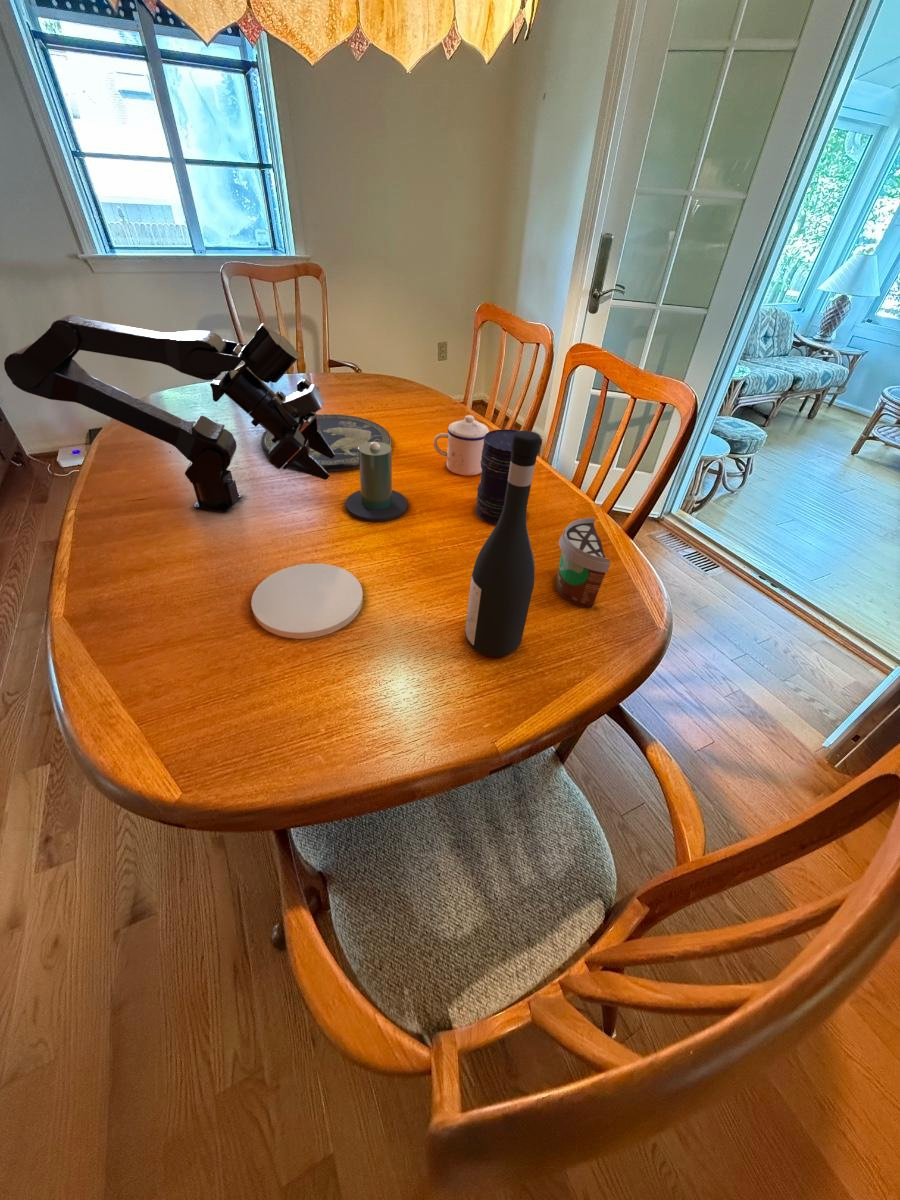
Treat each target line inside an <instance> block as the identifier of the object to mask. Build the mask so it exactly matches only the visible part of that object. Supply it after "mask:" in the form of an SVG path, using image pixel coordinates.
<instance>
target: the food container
mask: <svg viewBox="0 0 900 1200" xmlns="http://www.w3.org/2000/svg"><path fill="white" fill-rule="evenodd" d="M595 522H596V517H589V518H588V517H585V518H578V519H575V520H573V521H572V522H570V523H569V524H568V525H567V526H566V527H565V528H564V530H563V532H562V533H561V535H560V538H559V540H558V546H559V548H560V551H561V554H560V559H559V565H558V570H557V571H558V572H557V578H556V583H555V585H556V589H557V591H558V593H559V594H560V595H561V596H562V597H563V598H564V599H565V600H567V601H568V602H570V603H571V604H575V605H577V606H579V607H584V608H590V609H591V608H593V606H594V604H595V601H596V598H597V596H598V593H599V591H600V588H601V586H602V583H603V581H604V578H605V575H606V574H608V573H609V569H610V565H611V559H612V558H607V557H606V555H605V552H604V548H603V544H602V540H601V538H600V536H599V534H598V532H597V530H596V527H595Z"/></svg>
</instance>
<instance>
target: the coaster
mask: <svg viewBox="0 0 900 1200" xmlns="http://www.w3.org/2000/svg"><path fill="white" fill-rule="evenodd" d="M408 503H409V502H408V499H407V498H406V497H405V496H404V495H403V494H402V493H401V492H399V491H397V490H394V489H392V505H391V506H390V507H388V508H386V509H383V510H371V509H367V508H365V507H364V506H363V505H362V503H361V489H359V490H357V491H355V492H353V493H350V495H349V496H348V497H346V499H345V503H344V504H345V510H346V512H347V513H348V514H349V515H350V516H351V517H353V518H355V519H357V520H360V521H363V522H368V523H384V522H390V521H394V520H397V519H399V518H400V517H403V515H405V513H407V511H408V507H409V506H408Z"/></svg>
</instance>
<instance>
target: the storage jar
mask: <svg viewBox="0 0 900 1200" xmlns="http://www.w3.org/2000/svg"><path fill="white" fill-rule="evenodd" d="M517 431H518V430H516V429H509V428H508V429H506V428H505V429H504V428H503V429H502V428H501V429H494V430H491V431H490V430H489V432H488V433H487V434H485V436H484V444H483V449H482V456H481V457H482V459H481V468H482V472H481V473H480V481H479V483H478V485H477V486H478V487H477V494H476V508H475V513H476V515H477V517H478V518H479V519H481V521H483V522H485V523H487V524H490V525H494V526H496V524H497V522H498V521H499V518H500V516H501V513H502V510H503V507H504V501H505V495H506V488H507V481H508V475H509V468H510V461H511V454H512V453H511V451H512V450H511V443H512V437H513V434H514V433H515V432H517Z"/></svg>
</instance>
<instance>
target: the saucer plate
mask: <svg viewBox="0 0 900 1200" xmlns="http://www.w3.org/2000/svg"><path fill="white" fill-rule="evenodd" d="M363 601H364V594H363V586H362V585H361V583H360V581H359V580H358V578H357V577H356V576H355V575H354V574H352V573H351V572H350V571H348V570H346V569H344V568H342V567H339V566H337V565H333V564H326V563H318V562H317V563H313V562H312V563H301V564H296V565H292V566H287V567H285V568H282V569H280V570H278V571H275V572H274V573H272V574H270V575H268V576H267V577H266V578H264V579H263V580H262V581H261V582H260V583H259V584H258V585H257V586H256V588H255V589H254V591H253V593H252V596H251V601H250V606H251V610H252V614H253V617H254V619H255V621H256V622H257V623H258V625H259V626H260V627H261V628H263V629H264V630H266V631H267V632H268V633H271V634H273V635H275V636H279V637H283V638H288V639H295V640H296V639H297V640H298V639H301V640H303V639H305V640H306V639H314V638H319V637H324V636H326V635H330V634H332V633H335V632H337V631H339V630H341V629H343V628H344V627H346V626H347V625H349V624H350V623H352V622H353V621H354V619H355V618H356V617H357V616H358V615H359V613H360V611H361V609H362V608H363Z"/></svg>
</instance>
